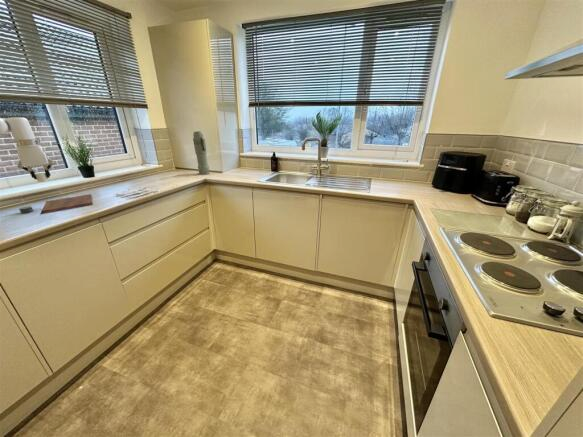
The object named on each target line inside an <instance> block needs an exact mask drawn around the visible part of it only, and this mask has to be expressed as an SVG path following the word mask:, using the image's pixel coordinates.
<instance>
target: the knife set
mask: <svg viewBox="0 0 583 437" xmlns="http://www.w3.org/2000/svg"><path fill="white" fill-rule="evenodd" d="M157 183H161V184H162V182H160V181H158V182H157V181H156V184H157ZM154 184H155V182H152V185H154ZM166 184H168V185H169V183H168V182H166ZM148 185H149V186H150V183H148V184H147V186H148ZM172 185H173V187H172V189H174V188H177V187H178V185H175V184H172ZM143 187H144V188H143ZM170 189H171V187H170V188H168V190H170ZM166 190H167V188H166V189H162V190H161V192H162V191H166ZM154 192H157V193H159V192H160V190H159V189H158V188H156V189H153V190H151V189H150V188H148V187H145V184H144V185H142V186H141V185H140V186H138V187H136V188H132V189H127V190H124V191H119V192H117V193H115V194H114V195H115V196H116V197H119V196H120V197H121V198H122V197H123V198H124V197H126V199H130V198H137V197H139V196H143V195H146V194H147V195H148V194H151V193H154Z"/></svg>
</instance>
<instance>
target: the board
mask: <svg viewBox="0 0 583 437" xmlns="http://www.w3.org/2000/svg"><path fill="white" fill-rule="evenodd" d="M93 205H94V203H93V195H92V194H91V193H89V194H83V195H77V196H70V197H64V198H58V199H51V200H46V201H45V203H44V205H43V207H42V209H41V211H40V213H39V215H42V214H49V213H53V212H59V211H66V210H71V209H77V208H83V207H88V206H93Z"/></svg>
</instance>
